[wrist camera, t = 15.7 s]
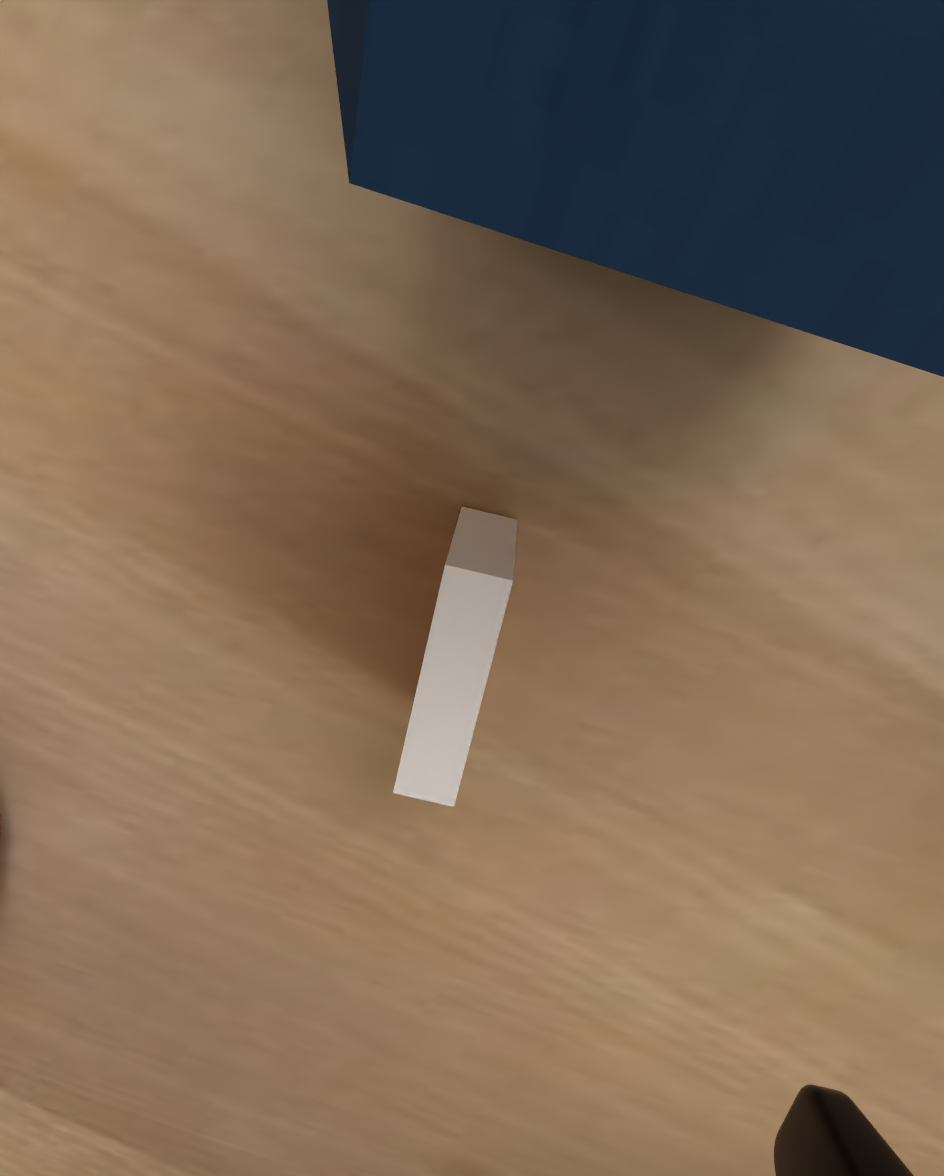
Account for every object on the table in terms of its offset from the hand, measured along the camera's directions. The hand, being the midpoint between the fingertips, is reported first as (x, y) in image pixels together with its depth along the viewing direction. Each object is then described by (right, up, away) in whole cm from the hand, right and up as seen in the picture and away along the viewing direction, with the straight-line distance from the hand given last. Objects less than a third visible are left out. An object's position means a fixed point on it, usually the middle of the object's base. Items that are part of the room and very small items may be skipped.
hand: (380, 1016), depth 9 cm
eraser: (+1, +4, +10) cm, 11 cm away
